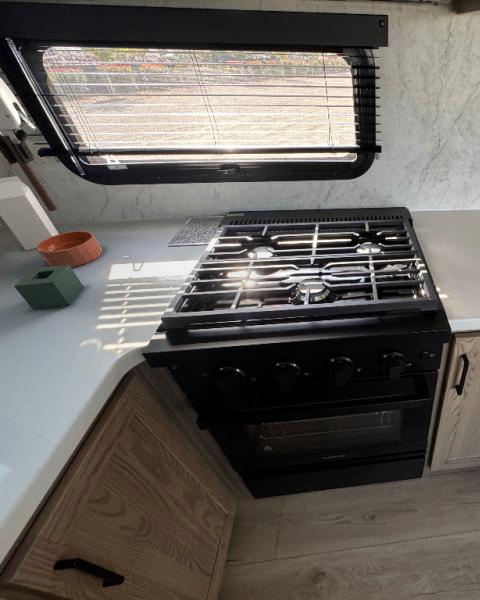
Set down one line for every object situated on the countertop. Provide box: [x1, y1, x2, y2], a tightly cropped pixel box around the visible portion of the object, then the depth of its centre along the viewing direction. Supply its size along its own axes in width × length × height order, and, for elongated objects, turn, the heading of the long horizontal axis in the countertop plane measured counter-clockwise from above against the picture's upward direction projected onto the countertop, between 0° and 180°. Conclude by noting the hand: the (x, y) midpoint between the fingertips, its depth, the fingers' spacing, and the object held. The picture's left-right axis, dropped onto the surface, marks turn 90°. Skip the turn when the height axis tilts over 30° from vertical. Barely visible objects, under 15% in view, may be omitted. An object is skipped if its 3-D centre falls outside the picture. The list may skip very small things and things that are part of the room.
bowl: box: [35, 230, 103, 268], centre depth 94 cm, size 12×12×6 cm
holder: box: [13, 265, 85, 311], centre depth 79 cm, size 7×7×7 cm
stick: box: [0, 133, 58, 212], centre depth 80 cm, size 2×2×17 cm
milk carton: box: [0, 175, 60, 251], centre depth 96 cm, size 7×7×19 cm
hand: (22, 161), depth 78 cm, fingers closed on stick, 1 cm apart
